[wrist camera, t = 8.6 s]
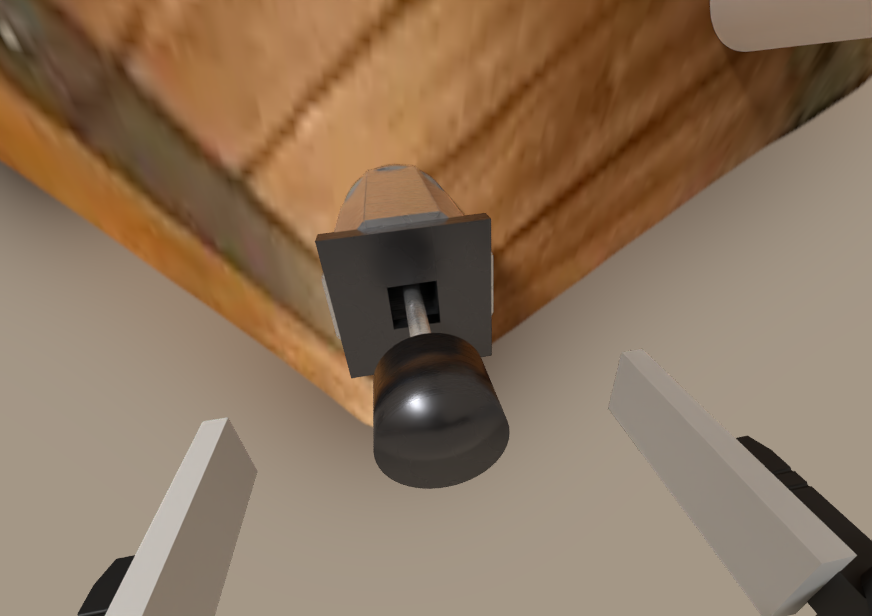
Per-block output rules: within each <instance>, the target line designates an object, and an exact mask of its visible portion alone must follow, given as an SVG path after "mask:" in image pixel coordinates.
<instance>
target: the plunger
mask: <svg viewBox="0 0 872 616" xmlns="http://www.w3.org/2000/svg"><path fill="white" fill-rule="evenodd" d="M402 288H403V295H404V301H405V307H406V314H407V320H408V326H409V333H410V337H409V338H407V339H405V340H403V341H401V342H399V343H397V344H396V345H394V346H393V347H392V348H390V349H389V350H388V351H387V352H386V353H385V354H384V355H383V357H382V358H381V359H380V361H379V363H378V364H377V367H376V369H375V372H374V377H373V427H374V457H375V460H376V463H377V465H378V466H379V468H380V469H381V470H382V472H383V473H384V474H385V475H387V476H388V477H389V478H391V479H392V480H394V481H396V482H398V483H400V484H403V485H407V486H411V487H415V488H429V489H431V488H442V487H448V486H453V485H457V484H460V483H463V482H465V481H468V480H470V479H472V478H474V477H476V476H478V475H480V474H481V473H483V472H485V471H486V470H487V469H488V468H490V467H491V466H492V465H493V464H494V463H495V462H496V461H497V460H498V459H499V458H500V456H501V455H502V453H503V452H504V450H505V448H506V446H507V443H508V440H509V425H508V422H507V419H506V417H505V414H504V412H503V409H502V407H501V405H500V402H499V400H498V397H497V395H496V392H495V391H494V388H493V385H492V383H491V380H490V378H489V376H488V373H487V371H486V369H485V366H484V364H483V361H482V359H481V357H480V355H479V353H478V352H477V350H476V349H475V348H474V347H473V346H472V345H471V344H470V343H468V342H467V341H465V340H463V339H462V338H459V337H457V336H454V335H450V334H445V333H431V330H430V326H429V322H428V318H427V314H426V310H425V306H424V302H423V298H422V294H421V290H420V286H419V283H416V284H409V285H402Z"/></svg>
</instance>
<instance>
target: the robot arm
mask: <svg viewBox="0 0 872 616" xmlns="http://www.w3.org/2000/svg"><path fill="white" fill-rule="evenodd" d="M608 409H609V410H610V411H611V413H612V414H613V415H614V417H615V418H616V419H617V421H618V422H619V423H620V425H621V426H622V427H623V429H624V430H625V432H626V433H627V434H628V436H629V437H630V438H631V440H632V441H633V442H634V444H635V445H636V447H637V448H638V449H639V451H640V452H641V453H642V454H643V456H644V457H645V459H646V460H647V461H648V463H649V464H650V465H651V467H652V468H653V470H654V471H655V472H656V474H657V475H658V476H659V478H660V479H661V480H662V482H663V483H664V484H665V486H666V487H667V488H668V490H669V491H670V492H671V494H672V495H673V497H674V498H675V499H676V501H677V502H678V503H679V505H680V506H681V507H682V509H683V510H684V511H685V513H686V514H687V516H688V517H689V518H690V520H691V521H692V522H693V523H694V525H695V526H696V528H697V529H698V530H699V532H700V533H701V534H702V536H703V537H704V539H705V540H706V541H707V542H708V544H709V545H710V547H711V548H712V549H713V551H714V552H715V553H716V555H717V556H718V557H719V559H720V560H721V561H722V563H723V564H724V566H725V567H726V568H727V569H728V571H729V572H730V574H731V575H732V576H733V578H734V579H735V580H736V582H737V583H738V584H739V586H740V587H741V589H742V590H743V591H744V593H745V594H746V595H747V597H748V598H749V599H750V601H751V602H752V603H753V605H754V606H755V607H756V609H757V610H758V611H759V613H760V614H761V615H762V616H788V615H792V614H796V613H797V612H798V611H799V610H800V609H801V608H802V607H803V606H804V605H805V604H806V603H807V602H808V604H809V605H810V606H811V607H812V608H813V609H814V610H815V612H816V613H817V615H816V616H872V541H871V540H870V539H869V538H868V537H867V536H866V535H865V534H863V533H862V532H861V531H860V530H859V529H858V528H857V527H856V526H855V525H854V524H853V523H851V522H850V521H849V520H848V519H847V518H846V517H845V516H844V515H843V514H841V513H840V512H839V511H838V510H837V509H836V508H835V507H834V506H833V505H832V504H830V503H829V502H828V501H827V500H826V499H825V498H824V497H823V496H822V495H821V494H819V493H818V492H817V491H816V490H815V489H814V488H813V487H810V486H808V485H807V482H806V481H805V480H804V479H803V478H802V477H801V476H799V475H798V474H797V473H796V472H795V471H792V470H791V468H790V466H788V465H787V464H786V463H785V462H784V461H783V460H782V459H781V458H780V457H778V456H777V455H776V454H775V453H774V452H773V451H772V450H771V449H769V448H767V447H765V446H764V445H762V444H760V443H759V442H757V441H755V440H754V439H752V438H750V437H749V436H744V437H739V438H735V437H734V436H733V435H732V434H731V433H730V432H729V431H727V430H726V429H725V428H724V427H723V426H722V425H721V424H720V423H719V422H718V421H717V420H716V419H715V418H714V417H713V416H712V415H711V414H710V413H709V412H708V411H707V410H706V409H705V408H704V407H702V406H701V405H700V404H699V403H698V402H697V401H696V400H695V399H694V398H693V397H692V396H691V395H690V394H689V393H688V392H687V391H686V390H685V389H684V388H683V387H682V386H681V385H680V384H679V383H678V382H677V381H676V380H674V379H673V378H672V377H671V376H670V375H669V374H668V373H667V372H666V371H665V370H664V369H663V368H662V367H661V366H660V365H659V364H658V363H657V362H656V361H655V360H654V359H653V358H652V357H650V356H649V355H648V354H647V353H646V352H645V351H644V350H643V349H636V350H630V351H624V352H621V356H620V360H619V364H618V369H617V373H616V377H615V381H614V386H613V390H612V394H611V398H610V403H609V407H608ZM256 475H257V469H256V468H255V466H254V464H253V462H252V460H251V458H250V457H249V455H248V453H247V451H246V449H245V447H244V446H243V444H242V442H241V440H240V438H239V436H238V435H237V433H236V431H235V429H234V427H233V426H232V424H231V422H230V420H229V418H221V419H215V420H209V421H203V422H202V424H201V426H200V428H199V430H198V432H197V434H196V436H195V438H194V440H193V442H192V444H191V446H190V448H189V450H188V452H187V454H186V456H185V458H184V460H183V462H182V464H181V466H180V468H179V470H178V472H177V473H176V476H175V478H174V480H173V481H172V484H171V485H170V487H169V489H168V492H167V493H166V496H165V497H164V499H163V501H162V503H161V505H160V507H159V509H158V511H157V514H156V515H155V517H154V519H153V521H152V523H151V525H150V527H149V529H148V531H147V533H146V535H145V537H144V539H143V541H142V543H141V545H140V547H139V549H138V551H137V553H136V555H134V556H129V557H124V558H118V559H116V560H115V561H114V562H113V563H112V564H111V566H110V567H109V568H108V569H107V570H106V571H105V573H104V574H103V575H102V576H101V577H100V578H99V579H98V581H97V582H96V583H95V584H94V586H93V587H92V589H91V591H90V592H89V594H88V596H87V598H86V600H85V601H84V603H83V605H82V607H81V609H80V611H79V612H78V616H215V613H216V610H217V606H218V603H219V599H220V596H221V593H222V589H223V586H224V583H225V579H226V576H227V572H228V569H229V566H230V562H231V559H232V556H233V552H234V549H235V545H236V542H237V538H238V535H239V532H240V529H241V525H242V522H243V518H244V515H245V511H246V508H247V505H248V501H249V498H250V495H251V491H252V488H253V485H254V481H255V478H256Z"/></svg>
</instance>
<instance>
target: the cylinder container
mask: <svg viewBox="0 0 872 616" xmlns="http://www.w3.org/2000/svg"><path fill="white" fill-rule="evenodd" d="M710 14H711V20H712V24H713V28H714V30H715V32H716V34H717V36H718V38H719V39H720V40H721V42H722V43H723V44H725V45H726V46H727V47H729V48H731V49H733V50H735V51H741V52H749V51H758V50H767V49H775V48H784V47H793V46H802V45H810V44H819V43H828V42H837V41H845V40H854V39H863V38H871V37H872V0H710Z"/></svg>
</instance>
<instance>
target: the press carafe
mask: <svg viewBox="0 0 872 616" xmlns="http://www.w3.org/2000/svg"><path fill="white" fill-rule="evenodd" d="M315 243H316V246H317V250H318V254H319V258H320V262H321V265H322V269H323V274H322V278H321V280H322V283H323V287H324V291H325V294H326V298H327V302H328V306H329V309H330V313H331V317H332V320H333V324H334V328H335V331H336V335H337V337H338V338H339V339H341V341H342V345H343V349H344V352H345V356H346V360H347V364H348V368H349V371H350V375H351V378H356V377H362V376H368V375H374V372H375V369H376V367H377V364H378V363H379V361H380V359H381V358H382V357H383V355H384V354H385V353H386V352H387V351H388V350H389V349H390V348H392V347H393V346H394V345H396V344H397V343H399V342H401V341H403V340H405V339H407V338H409V337H410V333H409V326H408V320H407V314H406V307H405V301H404V295H403V288H402V285H409V284H416V283H419V286H420V290H421V294H422V298H423V302H424V306H425V310H426V314H427V318H428V322H429V326H430V330H431V333H445V334H450V335H454V336H457V337H459V338H462V339H463V340H465V341H467V342H468V343H470V344H471V345H472V346H473V347H474V348H475V349H476V350H477V352H478V353H479V355H480V357H485V356H491V355H492V326H491V316H492V315H493V314H492V313H493V254H492V252H491V218H490V217H489V216H488V215H487V214H486V213H482V214H474V215H466V216H464V215H463V214H462V213H461V211H460V210H459V209H458V207H457V206H456V205H455V203H454V202H453V201H452V199H451V198H450V197H449V196H448V194H447V193H446V192H445V191H443V189H442V188H441V187H440V185H439V184H438V183H437V182H436V181H435V180H434V179H433V178H432V177H431V176H429V175H428V174H427V173H425V172H423V171H421V170H419V169H418V168H416V167H415V166H413V165H407V166H406V165H398V164H397V165H386V166H381V167H378V168H375V169H371V170H368V171H366V172H365V173H364V175H363V176H362V177H361V178H359V179H358V180H357V181H356V182H355V184H354V185H353V186H352V187H351V189H350V191H349V192H348V194H347V196H346V199H345V201H344V203H343V204H342V206H341V208H340V212H339V216H338V219H337V223H336V227H335V230H334V232H332V233H324V234H318V235H317V238H316V240H315Z"/></svg>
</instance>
